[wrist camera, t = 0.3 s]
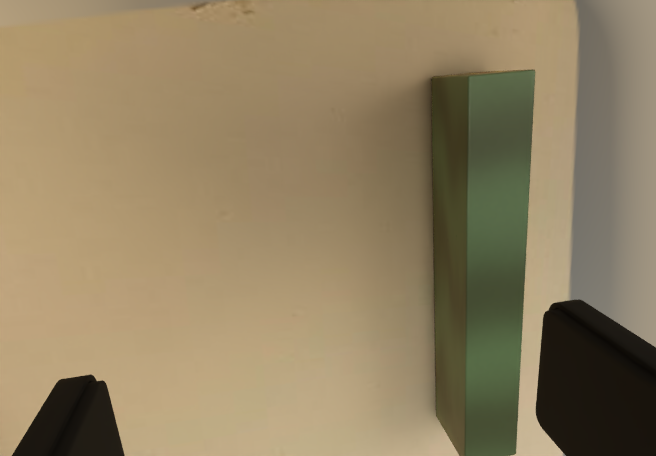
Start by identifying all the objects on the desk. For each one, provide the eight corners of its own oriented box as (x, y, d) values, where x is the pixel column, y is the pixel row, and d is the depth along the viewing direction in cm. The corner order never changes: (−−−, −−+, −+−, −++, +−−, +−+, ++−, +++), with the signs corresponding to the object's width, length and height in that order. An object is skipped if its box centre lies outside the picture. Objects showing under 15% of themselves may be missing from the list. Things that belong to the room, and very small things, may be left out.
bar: (430, 76, 23) (468, 75, 19) (488, 71, 23) (536, 69, 19) (435, 416, 29) (464, 466, 25) (481, 407, 29) (516, 454, 26)
